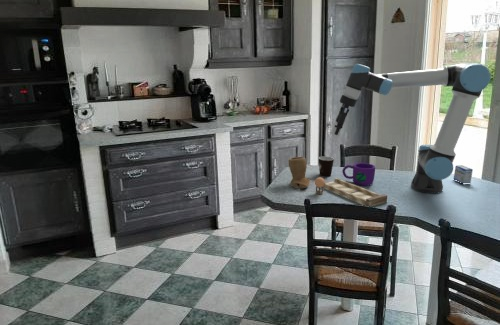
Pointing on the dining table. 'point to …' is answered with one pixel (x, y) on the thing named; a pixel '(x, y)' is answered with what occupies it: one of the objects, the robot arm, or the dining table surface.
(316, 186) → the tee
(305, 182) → the brown boot
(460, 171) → the medicine box
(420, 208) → the dining table surface
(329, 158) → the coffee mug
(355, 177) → the mug
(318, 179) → the ball
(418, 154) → the robot arm
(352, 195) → the wooden compartment tray
